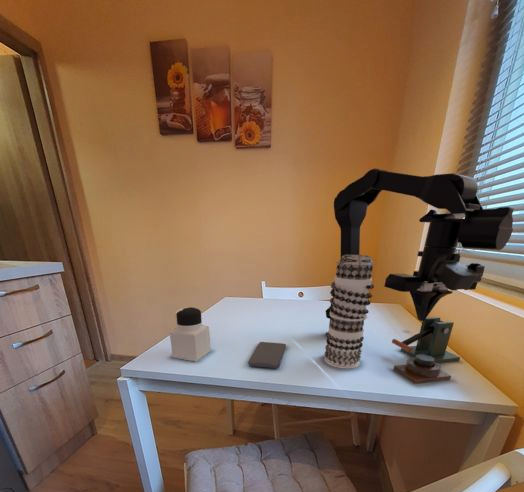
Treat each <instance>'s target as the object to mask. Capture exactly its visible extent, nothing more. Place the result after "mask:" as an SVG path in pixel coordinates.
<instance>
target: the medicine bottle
mask: <svg viewBox="0 0 524 492" xmlns="http://www.w3.org/2000/svg"><path fill="white" fill-rule="evenodd" d="M174 313H175V324H176V327H174V328H173V329H170V330H169V341H170V347H171V355H172V358H174V359H179V360H183V361H184V360H185V361H190V362H195V363H197V362H198V361H200V360H201V359H203V358H204V357H205V356H206V355H208V354H209V353H210V352H211V351H212V348H211V334H210V333H211V332H210V326H209V325H203V321H202V310H200V309H199V308H197V307H192V306H191V307H182V308H179V309H177V310H176V311H175V312H174Z"/></svg>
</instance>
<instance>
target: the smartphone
mask: <svg viewBox="0 0 524 492" xmlns="http://www.w3.org/2000/svg"><path fill="white" fill-rule="evenodd" d="M286 347H287V344H286V343H281V342H271V341H260V342H259V343H258V345H257V346H256V348H255V349H254V351H253V352H252V355H251V356H250V358H249V359H248V361H247V365H248V366H250V367H258V368H259V367H261V368H271V369H278V368H280V365H281V362H282V359H283V356H284V353H285V351H286Z"/></svg>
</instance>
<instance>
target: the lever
mask: <svg viewBox="0 0 524 492" xmlns="http://www.w3.org/2000/svg"><path fill="white" fill-rule="evenodd" d="M437 322H444V321H443V320H441V319H440V320H438V319H437V320H435V321H433V322H431V323H429V324H428V329H426V330H424V331H422V332H420V331H419V332H418V333H417V334H414V335H412V336H410V337H409V338H407V339H405V340H403V341H399V340H398V339H396V338H393V339H392V340H391V343H392V344H393V345H395V346H397V347H399V348H400V349H401V348H402V349H404V350H406V351H408V352H411V351H412V348H411V347H410V346H409V345H411V344H413V343H415V342H417V341H418V340H419V339H421V338H423V337H425V336H427V335H428V334H430V333H432V334H433V331H434V328H435V324H436V323H437Z"/></svg>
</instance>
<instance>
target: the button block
mask: <svg viewBox="0 0 524 492" xmlns="http://www.w3.org/2000/svg"><path fill="white" fill-rule="evenodd" d="M415 358H416V357H409V358H407V360H406V362H405V364H398V365H393V371H395V372H397V373H398V374H400V375H401V376H403V378H405V379H407V380H408V381H410V382H411V383H413V384H414V385H418V384H419V385H420V384H427V383H433V382H435V383H436V382H443V381H450V380H451V377H452V375H451V374H449V373H447V372H445V371H443V370H442V366H441V364H440V363H437V362H435V361H434V363H433V367H430V368H428V367H422V366H418V365H416V364H415V363H414V362H415Z"/></svg>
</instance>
